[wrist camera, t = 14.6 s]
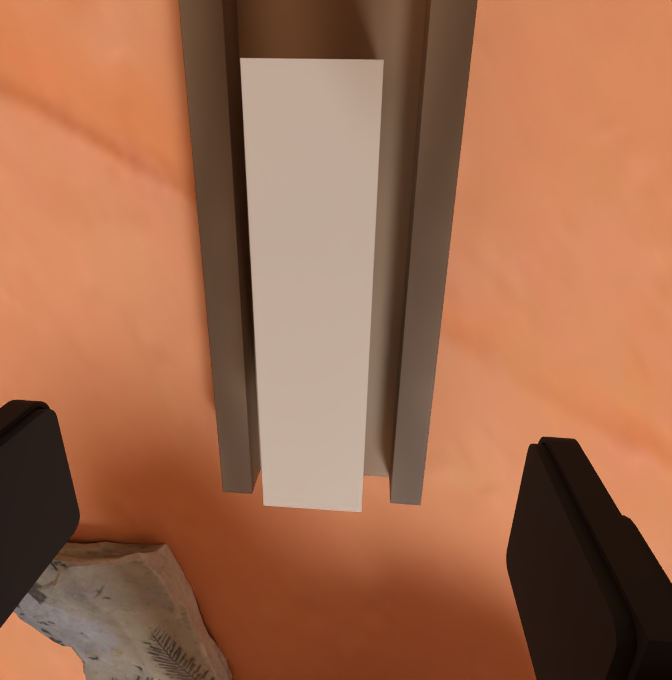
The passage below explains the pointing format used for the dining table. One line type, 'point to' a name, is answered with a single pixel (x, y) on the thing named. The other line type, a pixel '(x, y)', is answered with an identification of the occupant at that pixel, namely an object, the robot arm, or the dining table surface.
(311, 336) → the beige rectangular block
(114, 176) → the dining table surface
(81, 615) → the fossil rock
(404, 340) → the brown long channel piece
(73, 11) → the dining table surface
